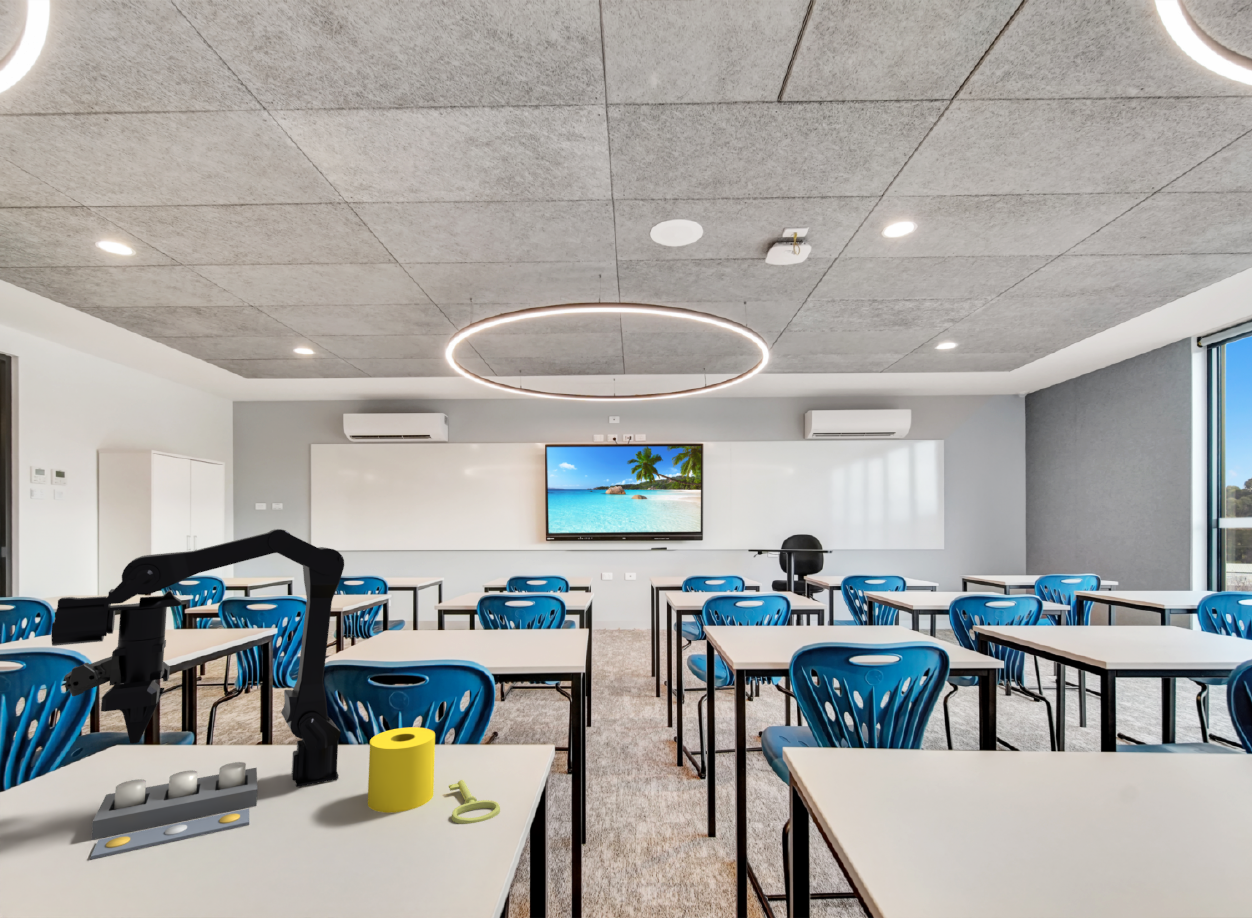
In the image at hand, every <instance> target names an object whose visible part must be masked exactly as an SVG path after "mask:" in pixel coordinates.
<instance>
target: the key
mask: <svg viewBox="0 0 1252 918" xmlns="http://www.w3.org/2000/svg"><path fill="white" fill-rule="evenodd" d="M448 788H449V791H451V792H452V791H456V790H459V791H460V793H461V795H462V797H463V800H464V803H463V804H461V805H459V806H457V807H455V808H454V809H453V810H452V813H451V821H452V822H453V823H455V824H459V825H460V824H461V825H466V824H467V825H468V824H475V823H476V824H477V823H480V822H485V821H488V820H491V819H493V818H495V817H497V816H498V815H499V814H500V812H501V806H500V804H499V802H497V801H495V800H489V799H483V800H477V798H476V796H474V795H472V793H471V791H470V790H469V787H468V785H467V783H466V782H465V780H464V779H459V781H457V783H453V784H452V783H451V784H448ZM480 809H492V811H490V812H488V813H486V814H484V815H481V816H476V817H475V816H474V817H463V816H460V815H462V814H463V813H467V812H471V811H475V810H480Z"/></svg>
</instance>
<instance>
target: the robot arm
mask: <svg viewBox="0 0 1252 918" xmlns="http://www.w3.org/2000/svg"><path fill="white" fill-rule="evenodd" d="M272 554H279V555H281V556H282V557H285V558H287V559H289V560H291V561H293V562H295V563H297V564H299V565H301V566H302V571H303V573H302V574H303V582H304V583H303V584H304V589H305V596H306V601H305V602H306V604H305V613H304V620H303V628H302V639H301V647H300V656H299V665H298V673H297V679H296V682H295V684H294V687H293V688H292V689H284V690H283V691H284V693H283V694H284V695H283V697H284V705H283V708H282V710H281V711H280V714H281V715H282V717H283V719H284V721H285V722H286V724H287V726H288V728H289V730H290V731H291V733H292V734H293V736H294V737H295V738H298V739H299V740H297V741H296V750H293V751H292V761H291V779H292V781H293V782H295V787H296V788H301V787H306V786H309V785H314V784H321V783H326V782H330V781H336V780H338V779H339V776H340V775H339V773H338V754H339V739H340V737H341V734H342V732H341V730H340V729H339V728H338V726H337V725H336V724H335V722H334V721H333V719H331V718H330V717H329V715H328V706H327V704H328V703H327V697H326V696H327V694H326V691H325V684H324V683H325V682H324V677H325V669H326V658H327V648H328V640H329V630H330V622H331V615H332V614H331V613H332V605H333V603H332V602H333V599H334V597H335V595H336V592H337V590H338V587H339V585H340V582H341V579H342V575H343V571H344V569H345V559H344V557H343V555H342V554H341V553H340V552H339V551H338V550H336V549H334V548H328V547H323V546H322V547H321V546H319V547H318V546H315V545H313V544H310V543H309V542H306V541H305V540H302V539H301V538H298V537H296V536H295V535H293V534H291V533H290V532H288V531H287V530H285V529H282V528H281V529H279V528H277V529H275V528H274V529H271V530H270V531H268V532H265V533H261V534H256V535H253V536H247V537H244V538H240V539H237V540H235V539H234V540H231V541H228V542H224V543H219V544H217V545H211V546H207V547H204V548H200V549H195V550H189V551H177V552H166V553H164V552H163V553H157V554H146V555H142V556H138V557H135V558H134V559H133V560H131V561H130V562H129V563H127V565H126V566H125V568H124V569H123V571H122V573H121V582H120V583H119V584H118V585H117V586H116V587H115V588H111V589H110V590H109V591H108V593H107V594H108V595H106V596H92V597H91V596H90V597H88V596H87V597H74V596H69V597H67V596H65V597H60V598H59V599H58V600H57V608H56V611H55V615H54V616H55V617H54V622H52V624H51V645H52V647H57V646H67V645H76V644H78V645H79V644H87V643H90V644H91V643H100V642H104V640H105V639H104V638H105V637H107V634H108V635H111V634H114V629H115V620H116V611H119V625H118V635H117V636H118V637H117V638H118V640H117V646H116V648H115V649H114V650H113V651H112V652H111V656H108V657H105V658H103V659H100V660H97V661H95V662H92V663H89V662H85V663H83V664H82V665H80V666H77V665H76V666H74V667H73V668H72V669H71V671H69V672H68V673H67V674H66V675H65V676H64V677H63V678H64V680H65V682H66V683H65V685H64V687H65V689H67V690H69V693H70V694H71V697H76V696H79V695H82V694H84V692H85V691H89V690H91V689H94V688H95V687H99V686H101V685H104V684H106V683H108V682H109V686H112V687H111V688H109V689H108V690H107V691H106V692H105V693H104V694H103V695H102V697H101V703H100V704H101V705H100V706H101V707H100V712H105V713H106V712H112V711H113V712H114V711H120V712H122V716H123V719H124V723H125V726H126V727H125V728H126V731H127V735H128V741H129V743H130V744H132V745H133V744H138V743H139V742H141V739H142V737H143V735H144V733H145V731H146V729H147V727H148V725H149V722H150V720H151V718H152V716H153V714H154V712H155V710H156V708H157V706H158V704H159V702H160V700H161V697H162V696H163V693H164V692H165V687H160V686H161V685H159V684H158V682H156V680H157V681H158V680H162V681H163V682H168V681H169V679H170V669H171V666H170V665H168V664H167V663H166V662H165V661H164V657H165V656H164V655H165V648H166V647H167V646H166V645H167V639H166V628H167V627H166V625H167V622H166V621H167V608H171V607H172V608H173V607H180V606H181V605H182V600H181V599H180V598H178V597H177V596H176V595H174V593H173V591H172V590H171V589H170V590H167V591H166V592H165V593H164V594H163V595H157V596H156V595H155V596H144V595H151V594H153V593H156V592H159V591H161V590H163V589H167V588H168V587H171V586H172V585H176V584H177V583H180V582H181V581H184V580H186V579H189V578H190V577H193V576H195V575H197V574H200V573H203V572H208V571H212V570H215V569H220V568H222V567H227V566H229V565H230V566H231V565H234V564H239V563H241V562H245V561H250V560H253V559H257V558H261V557H264V556H268V555H272ZM137 595H141V596H140V598H139V602H138V603H137V602H136V603H128V604H127V603H126V604H123V603H125V602H127V601H128V600H130V599H132V598H133V597H135V596H137Z"/></svg>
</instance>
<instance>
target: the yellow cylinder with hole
mask: <svg viewBox="0 0 1252 918" xmlns="http://www.w3.org/2000/svg"><path fill="white" fill-rule="evenodd" d="M435 748H436V733H435V731H434V730H432V729H429V728H426V727H417V726H416V727H414V726H413V727H411V726H410V727H409V726H408V727H399V728H394V729H389V730H386V731H383V732H380V733H378V734H375V735H374V736H373V737H371V739H370V740H369V757H368V759H369V760H368V782H367V787H368V788H367V807H369V809H371V810H372V811H375V812H378V813H388V814H392V813H395V814H396V813H401V812H409V811H411V810H415V809H417V808H420V807H423V806H425V805H426V804H427V803H429V802H430V801H431V800H432V799H433V797H434V792H435V791H434V790H435V789H434V785H435V784H434V783H435V755H436V754H435V753H436V749H435Z"/></svg>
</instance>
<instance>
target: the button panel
mask: <svg viewBox="0 0 1252 918" xmlns="http://www.w3.org/2000/svg"><path fill="white" fill-rule="evenodd" d="M218 786H219V773H218V774H214V775H213V774H212V775H207V776H203V777H197V791H196V794H195V795H190V796H185V797H180V798H174V799H168V792H169V782H168V783H164V784H157V785H153V786H147V787H146V790H145V802H144V804H142V805H138V806H132V807H127V808H122V809H117V810H114V803H115V792H113V793H108V794H106V795H105V796H104V798H103V801H102V802H101V804H100V806H99V807H98V809H97V812H96V814H95V816H94V817H93V820H92V823H91V824H92V825H91V826H92V827H91V838H90V839H91V841H93V840H99V839H104V838H109V837H114V836H119V835H124V834H128V833H133V832H138V831H143V830H148V829H152V828H157V827H162V826H167V825H172V824H177V823H181V822H186V821H191V820H196V819H201V818H206V817H210V816H215V815H220V814H225V813H230V812H234V811H239V810H244V809H249V808H253V807H256V806H257V803H258V768H257V767H253V768H252V767H251V768H247V769H245V784H244V785H243V786H237V787H232V788H227V789H222V790H219V789H218Z"/></svg>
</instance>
